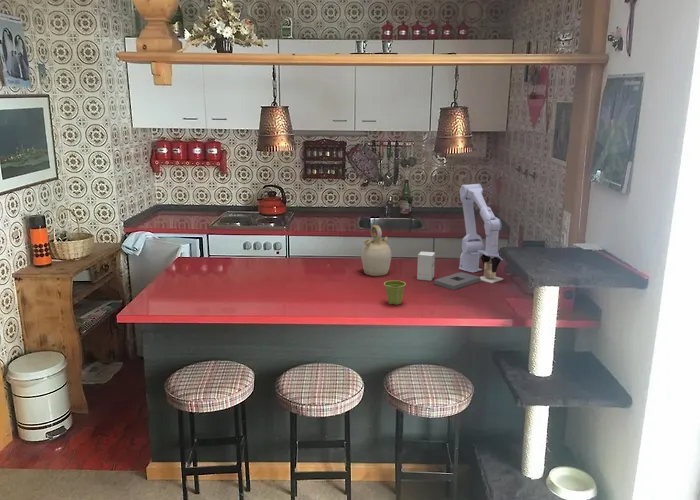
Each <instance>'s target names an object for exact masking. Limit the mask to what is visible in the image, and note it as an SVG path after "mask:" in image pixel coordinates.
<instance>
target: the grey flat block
mask: <svg viewBox="0 0 700 500" xmlns="http://www.w3.org/2000/svg"><path fill="white" fill-rule="evenodd" d="M481 281H482V280H481V276H477V275H473V274H470V273H467V272H462V271H460V272H455V273H453V274H450V275H446V276H443V277H440V278H436V279H434V280H433V284H434V285H436V286H440V287H442V288H445V289H448V290H452V291H455V290H458V289H461V288H464V287H467V286H470V285H474V284H477V283H480V282H481Z"/></svg>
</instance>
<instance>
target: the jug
mask: <svg viewBox="0 0 700 500" xmlns="http://www.w3.org/2000/svg"><path fill="white" fill-rule="evenodd" d="M376 233H377V234H376ZM382 235H383V233H382V229H381V227H380V226H379V225H378V224H373V225H372V226H371V228H370V236H371V238H372V240H371V239H370V238H366V239H364V240H363V246H362V249H361V253H360V258H361V264H362V268H363V273H364V274H366V275H368V276H372V277H379V276H380V277H382V276H385V275H387V274H388V273H389V270H390V265H391V262H392V261H391V260H392V249H391V248H390V246H389V244H387V242H388V236H385V237H384V238H382ZM381 238H382V240H381Z"/></svg>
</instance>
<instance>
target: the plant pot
mask: <svg viewBox="0 0 700 500" xmlns="http://www.w3.org/2000/svg"><path fill="white" fill-rule="evenodd" d="M383 286H384V289H385V292H386V300H387V304H388V305H400V304H402V302H403V297H404V296H403V295H404V289H405V286H406V282H405V281H401V280H386V281H384V282H383Z"/></svg>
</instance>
